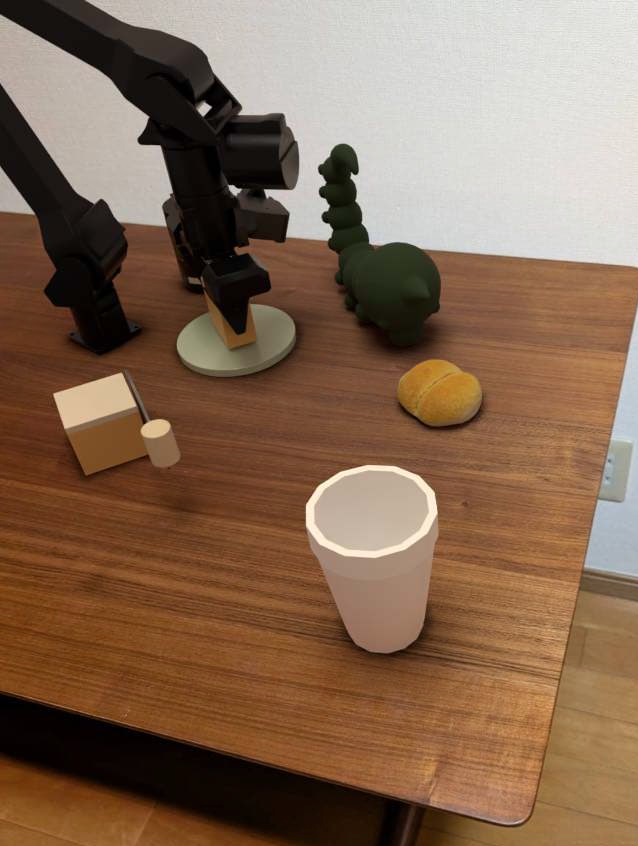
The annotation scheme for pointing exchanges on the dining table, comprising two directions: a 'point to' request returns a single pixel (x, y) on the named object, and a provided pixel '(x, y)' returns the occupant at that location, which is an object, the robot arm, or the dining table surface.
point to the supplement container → (185, 271)
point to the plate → (213, 357)
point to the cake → (102, 423)
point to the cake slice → (226, 330)
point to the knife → (156, 435)
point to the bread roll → (439, 393)
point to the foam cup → (376, 551)
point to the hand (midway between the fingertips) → (231, 319)
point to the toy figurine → (376, 260)
